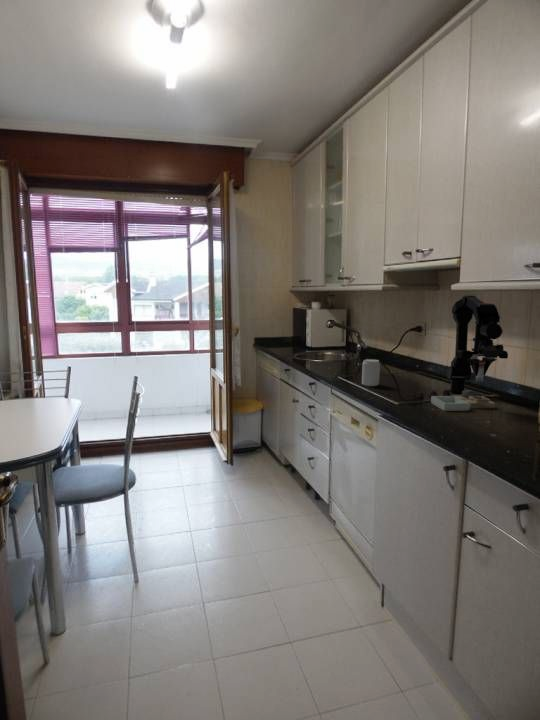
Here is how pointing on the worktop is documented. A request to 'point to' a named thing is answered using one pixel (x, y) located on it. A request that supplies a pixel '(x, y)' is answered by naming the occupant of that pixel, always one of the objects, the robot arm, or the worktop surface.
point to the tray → (450, 403)
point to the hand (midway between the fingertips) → (479, 375)
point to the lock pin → (480, 370)
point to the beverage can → (370, 372)
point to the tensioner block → (476, 399)
